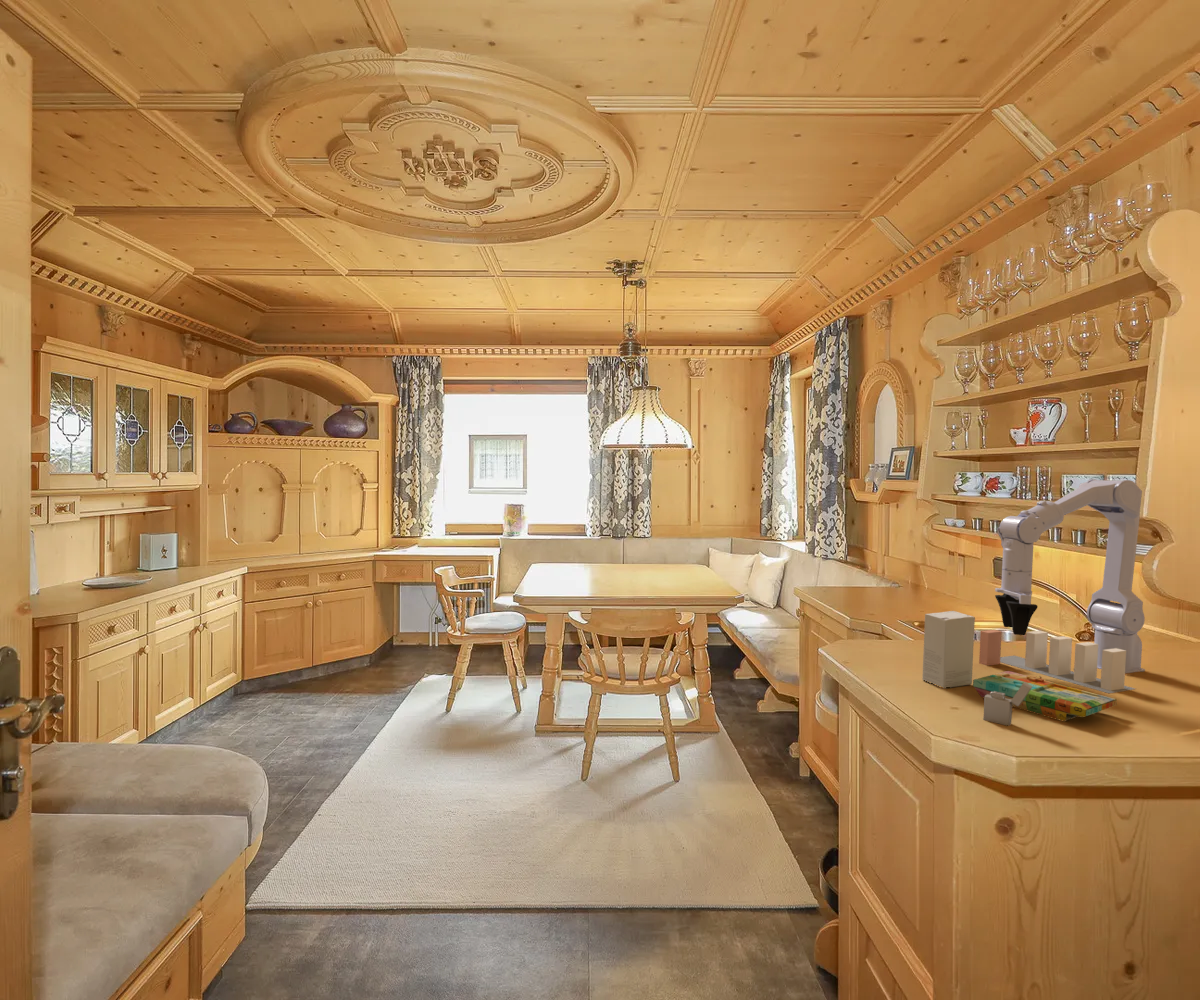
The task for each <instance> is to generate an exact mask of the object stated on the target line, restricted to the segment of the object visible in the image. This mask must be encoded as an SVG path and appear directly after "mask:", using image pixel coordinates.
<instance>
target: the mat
mask: <svg viewBox="0 0 1200 1000" xmlns="http://www.w3.org/2000/svg"><path fill="white" fill-rule="evenodd" d="M1000 664H1005V665H1007V666H1008V665H1009V666H1012V667H1016V668H1019V669H1022V670H1025V671H1030V672H1032V673H1036V674H1040V675H1044V676H1047V677H1050V678H1053V679H1056V680H1060V681H1064V682H1067V683H1069V684H1070V683H1071V684H1074V685H1077V686H1081V687H1084V688H1088V689H1091V690H1094V691H1095V690H1096V691H1098V692H1102V693H1106V694H1108V695H1109V694H1114V693H1120V692H1121V693H1122V692H1126V691H1132V690H1136V688H1134V687H1133V686H1131V687H1130V686H1127V685H1124V689H1118V690H1112V691H1110V690H1107V689H1103V688H1101V678H1098V677H1097V678H1096V681H1092V682H1085V683H1082V682H1078V681H1075V680H1074V670H1073V671H1072V670H1071V673H1070V674H1064V675H1058V676H1057V675H1054V674H1050V673H1048V672H1049V664H1047V663H1046V667H1042V668H1035V669H1033V668H1029V667H1026V666H1025V657H1022V656H1017V655H1006V656H1000Z"/></svg>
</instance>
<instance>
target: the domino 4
mask: <svg viewBox="0 0 1200 1000" xmlns="http://www.w3.org/2000/svg"><path fill="white" fill-rule="evenodd" d="M1074 645H1075V648H1074V666H1073V667H1074V668H1073V672H1074V680H1075V681H1078V682H1082V683H1085V682H1092V681H1096V678H1098V677H1097V676H1098V668H1097V660H1098V644H1095V643H1094V642H1090V641H1086V642H1078V643H1077V642H1076V643H1075V644H1074Z"/></svg>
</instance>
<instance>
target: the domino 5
mask: <svg viewBox="0 0 1200 1000" xmlns="http://www.w3.org/2000/svg"><path fill="white" fill-rule="evenodd" d="M1125 664H1126V650H1121V649H1117V648H1114V649H1106V650H1103V651H1102V669H1100V671H1101V672H1100V673H1101V674H1100V679H1101V688H1103V689H1107V690H1110V691H1112V690H1118V689H1124V686H1125V678H1126V673H1125Z"/></svg>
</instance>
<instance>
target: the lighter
mask: <svg viewBox="0 0 1200 1000" xmlns="http://www.w3.org/2000/svg"><path fill="white" fill-rule="evenodd" d="M1031 688H1032V686H1031V685H1029V684H1028V683H1026V682H1024V683H1023V684H1022V686H1021V687H1020V688H1019V690H1018V691H1017V693H1016V694H1015V696H1014V697H1013V699H1012V700H1011V699H1006V698H1005V693H1000V692H996V691H994V692H990V695H985V696H984V698H983V699H984V700H983V701H984V702H983V718H982V719H983V721H987V722H989V723H990V722H991V723H995V724H1000V725H1004V726H1007V725H1008V726H1007V727H1009V726H1011V725H1012V715H1013V706H1012V703H1013V704H1014V705H1016V706H1017V707H1018V706H1019V705H1020V704H1021V703H1022V701H1023V700H1024V698H1025V697H1026V695H1027V694H1028V693H1029V691H1030V690H1031ZM1017 707H1016V708H1017Z"/></svg>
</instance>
